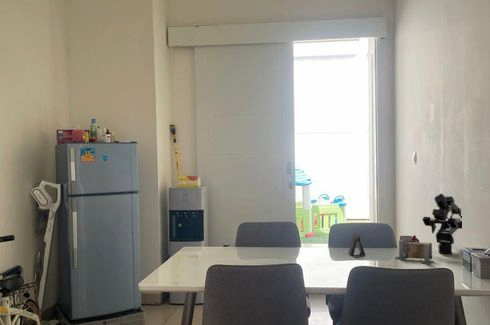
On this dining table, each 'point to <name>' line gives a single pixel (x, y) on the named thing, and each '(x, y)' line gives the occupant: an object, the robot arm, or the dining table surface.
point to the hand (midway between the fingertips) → (435, 233)
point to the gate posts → (402, 252)
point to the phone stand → (355, 245)
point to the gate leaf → (416, 250)
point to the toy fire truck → (409, 239)
